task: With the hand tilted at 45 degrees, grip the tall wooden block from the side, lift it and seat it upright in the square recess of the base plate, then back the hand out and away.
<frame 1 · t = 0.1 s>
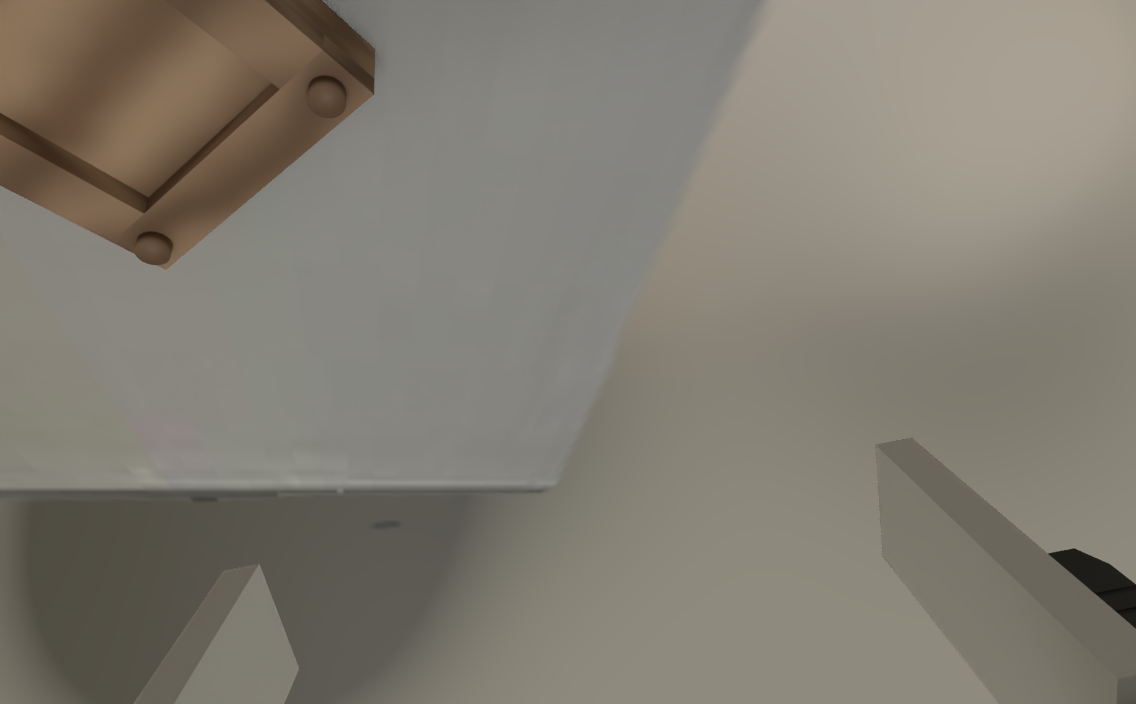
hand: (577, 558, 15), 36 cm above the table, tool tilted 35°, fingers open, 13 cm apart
base plate: (110, 32, 40), on the table
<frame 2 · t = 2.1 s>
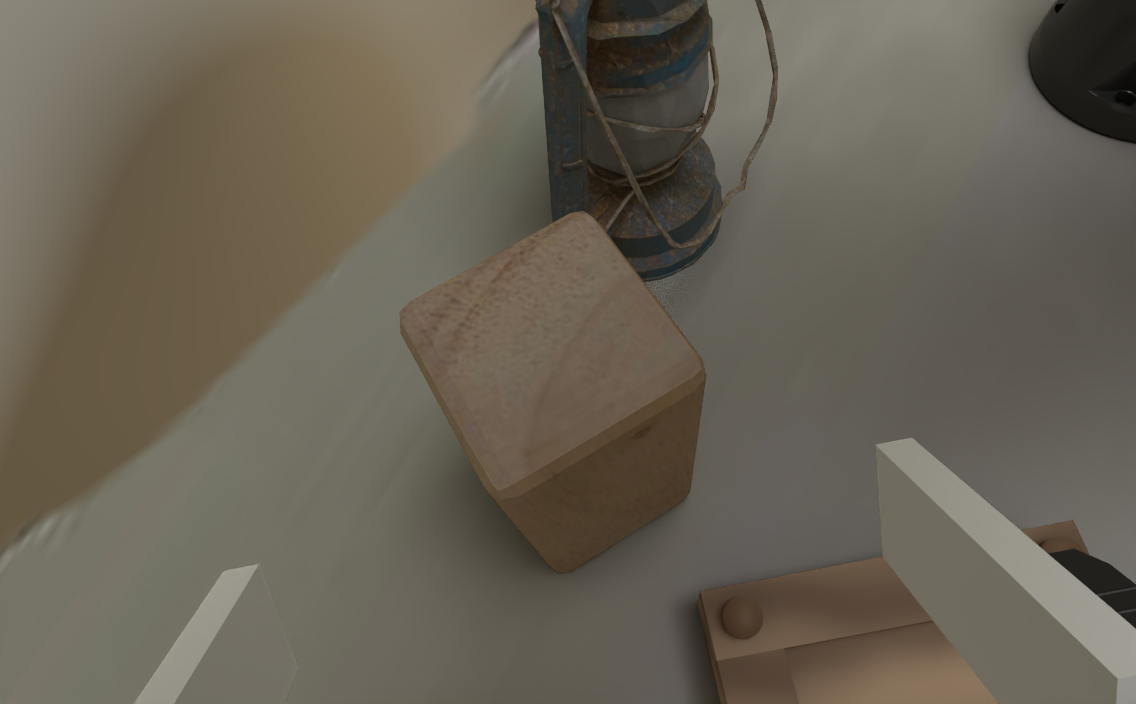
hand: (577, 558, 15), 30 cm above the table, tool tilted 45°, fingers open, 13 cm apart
wooden block: (587, 473, 48), on the table
lantern: (646, 214, 56), on the table
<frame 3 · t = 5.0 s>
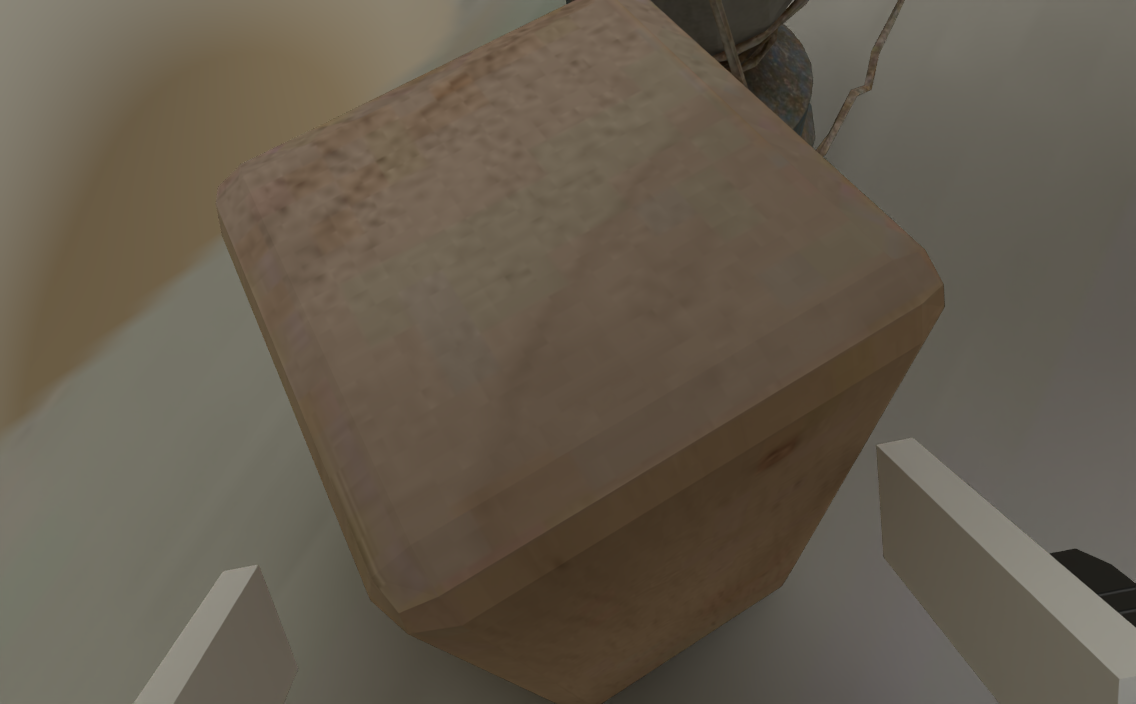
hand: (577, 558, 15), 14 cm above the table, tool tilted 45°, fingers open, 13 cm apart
wooden block: (619, 536, 30), on the table, touching gripper
lantern: (700, 149, 38), on the table
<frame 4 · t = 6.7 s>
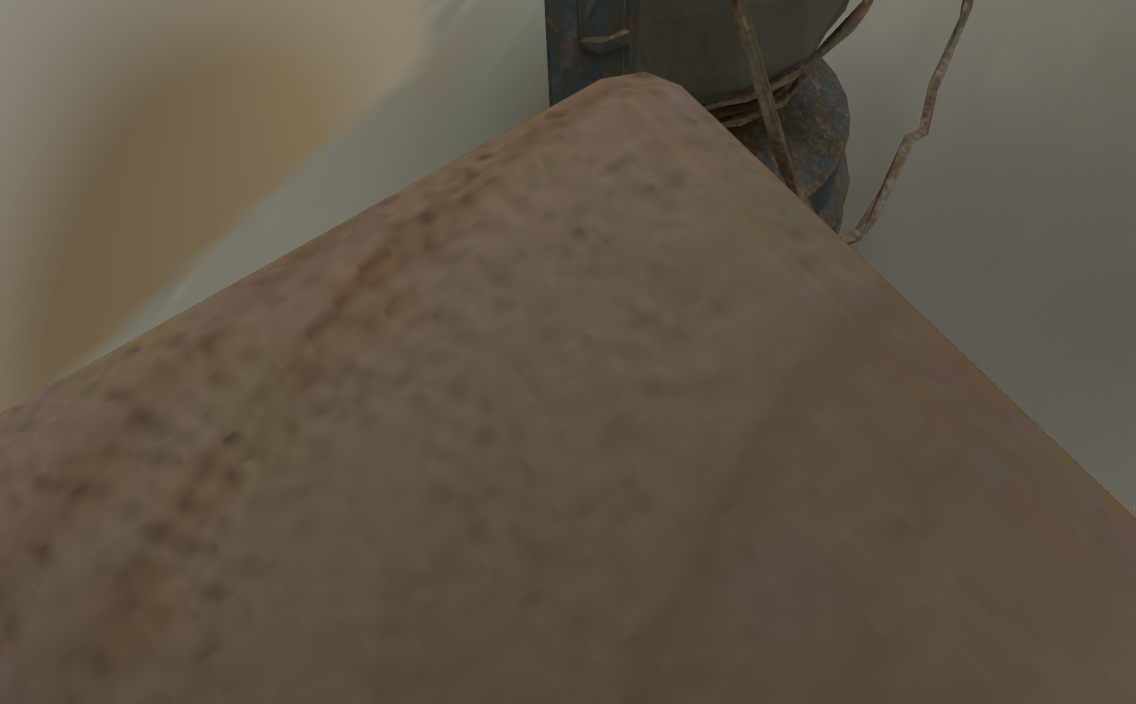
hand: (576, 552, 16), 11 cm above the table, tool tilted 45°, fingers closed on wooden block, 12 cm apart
wooden block: (616, 680, 24), on the table, touching gripper
lantern: (712, 194, 33), on the table
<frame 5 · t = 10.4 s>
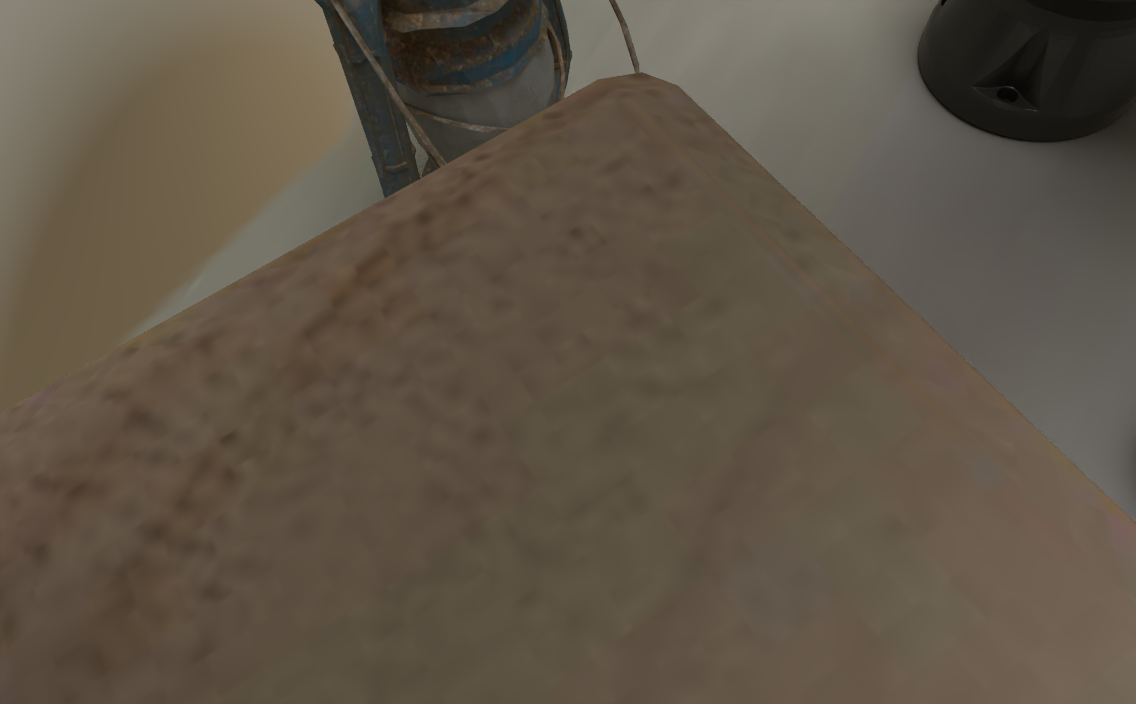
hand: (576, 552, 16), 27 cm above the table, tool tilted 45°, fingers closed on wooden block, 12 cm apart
wooden block: (616, 680, 24), point 17 cm above the table, touching gripper
lantern: (522, 219, 53), on the table
when the fingers open (15 cm above the table, at t = 14.1 s): wooden block drops 1 cm, resting on base plate.
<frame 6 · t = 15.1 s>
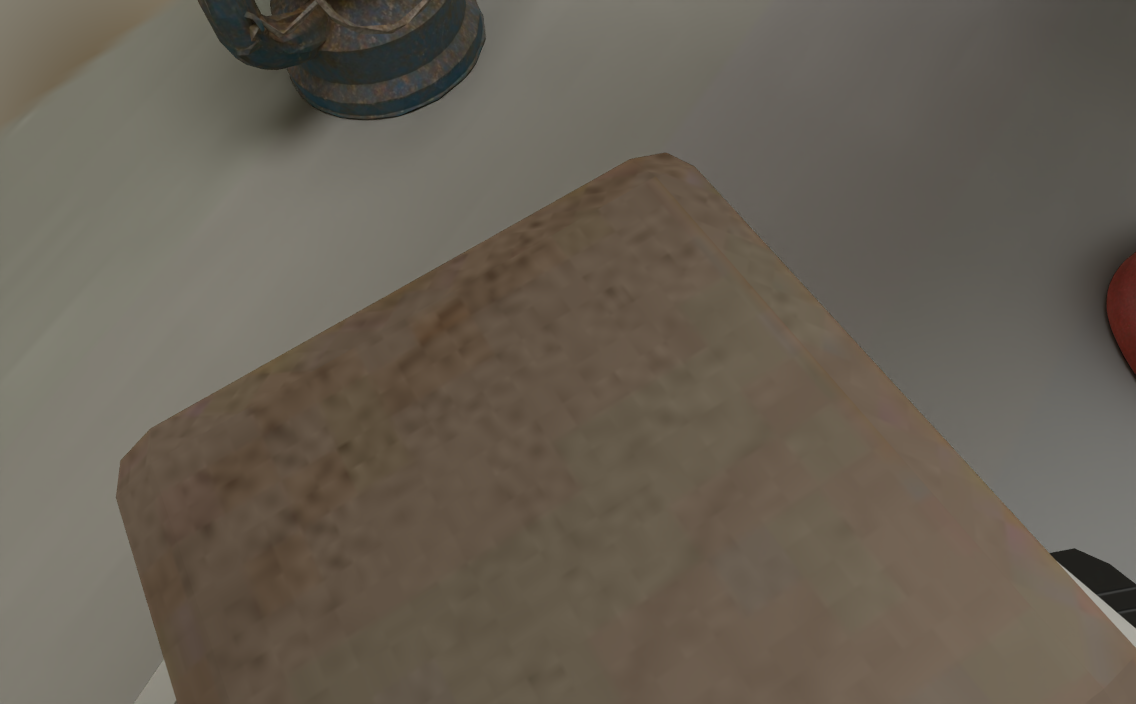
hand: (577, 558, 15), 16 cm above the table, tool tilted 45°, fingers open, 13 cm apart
wooden block: (631, 659, 27), point 3 cm above the table, touching base plate, gripper
lantern: (397, 50, 47), on the table
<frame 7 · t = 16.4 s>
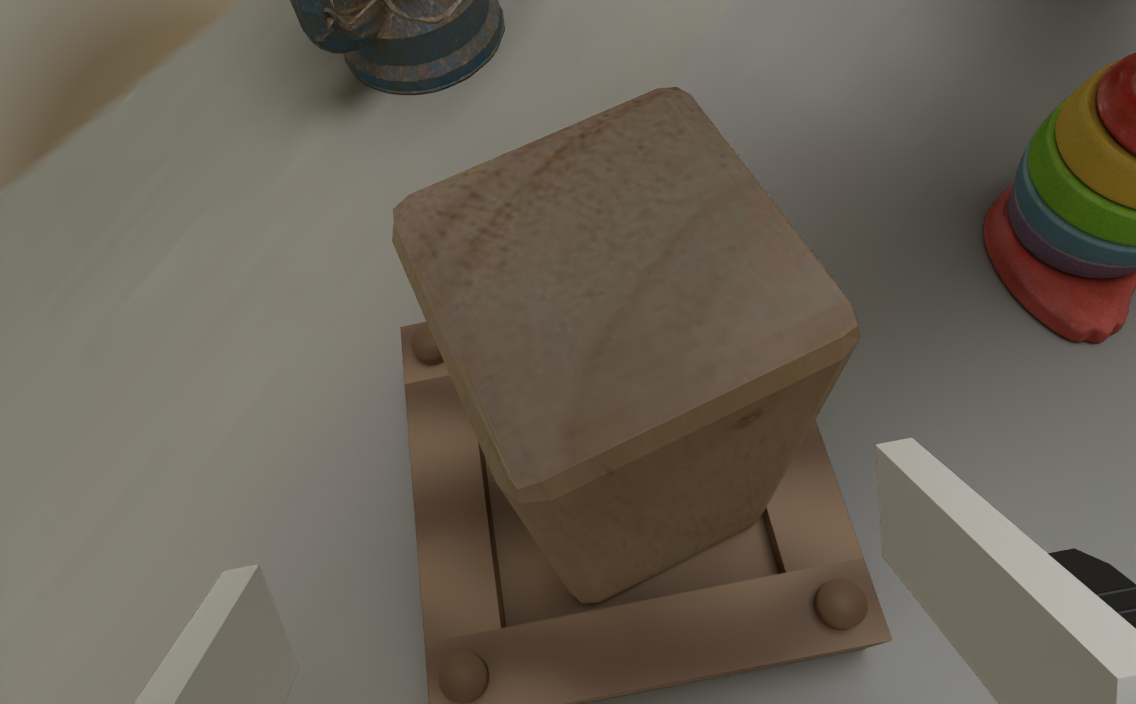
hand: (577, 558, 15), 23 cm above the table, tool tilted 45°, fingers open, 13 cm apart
base plate: (618, 488, 40), on the table
wooden block: (628, 477, 37), point 3 cm above the table, touching base plate
lantern: (432, 38, 57), on the table
stacking bear: (1066, 249, 44), on the table
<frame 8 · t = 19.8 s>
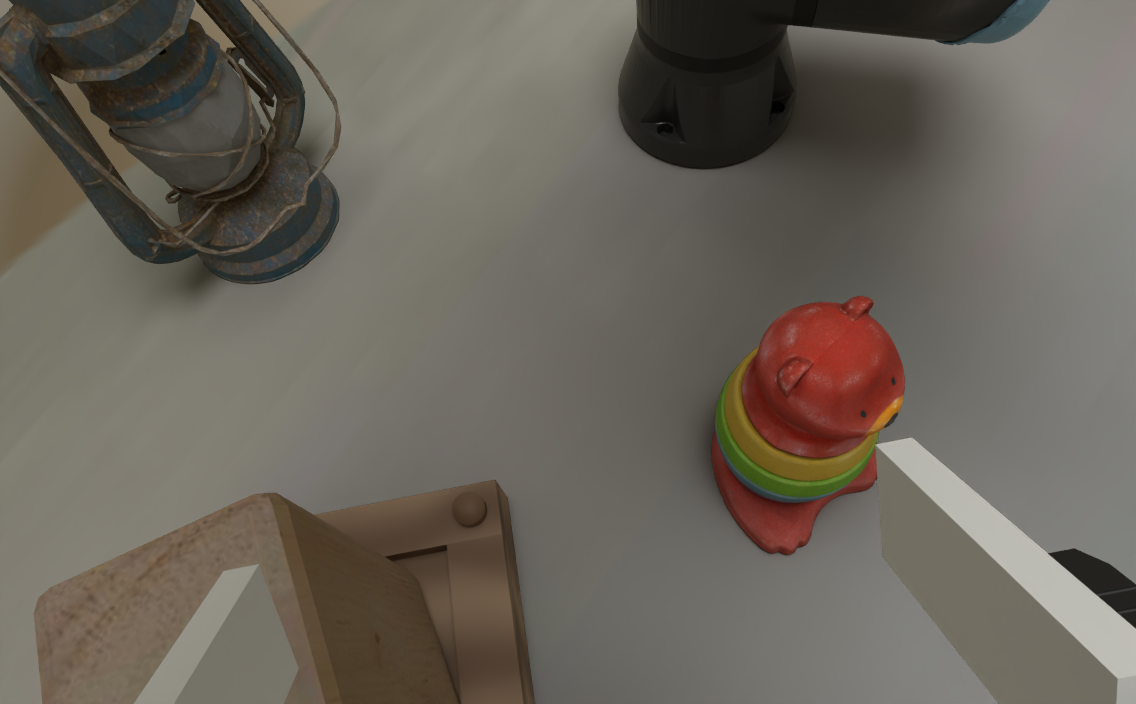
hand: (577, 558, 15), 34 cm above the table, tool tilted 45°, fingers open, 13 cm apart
base plate: (373, 680, 46), on the table
wooden block: (367, 682, 44), point 3 cm above the table, touching base plate
lantern: (276, 226, 64), on the table
stacking bear: (781, 460, 50), on the table
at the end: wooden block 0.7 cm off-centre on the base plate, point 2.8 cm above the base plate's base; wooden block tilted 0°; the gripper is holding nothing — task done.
